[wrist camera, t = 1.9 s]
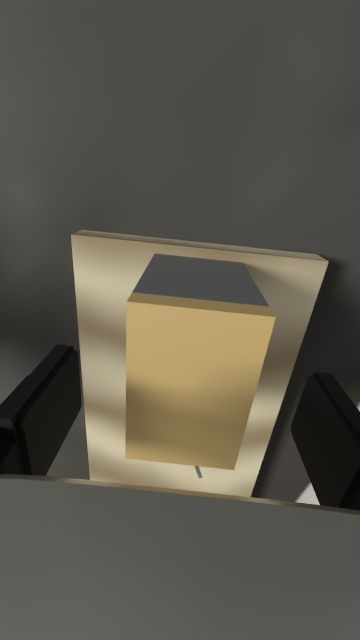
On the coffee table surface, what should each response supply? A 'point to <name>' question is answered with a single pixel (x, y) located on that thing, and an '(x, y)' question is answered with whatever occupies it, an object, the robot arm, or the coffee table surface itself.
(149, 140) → the coffee table surface
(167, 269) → the block
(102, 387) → the board
